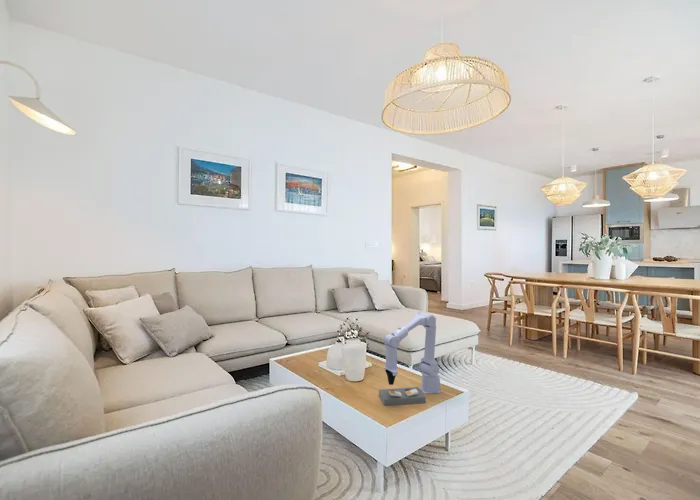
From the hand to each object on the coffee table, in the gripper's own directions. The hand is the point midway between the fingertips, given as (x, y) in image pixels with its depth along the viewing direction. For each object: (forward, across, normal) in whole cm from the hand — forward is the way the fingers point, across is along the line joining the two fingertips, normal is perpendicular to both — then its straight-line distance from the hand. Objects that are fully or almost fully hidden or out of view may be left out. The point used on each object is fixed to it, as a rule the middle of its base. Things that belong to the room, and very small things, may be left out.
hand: (391, 384), depth 176 cm
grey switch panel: (+9, -3, +7) cm, 12 cm away
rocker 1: (+6, 0, +2) cm, 6 cm away
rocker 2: (+6, 0, +11) cm, 12 cm away
